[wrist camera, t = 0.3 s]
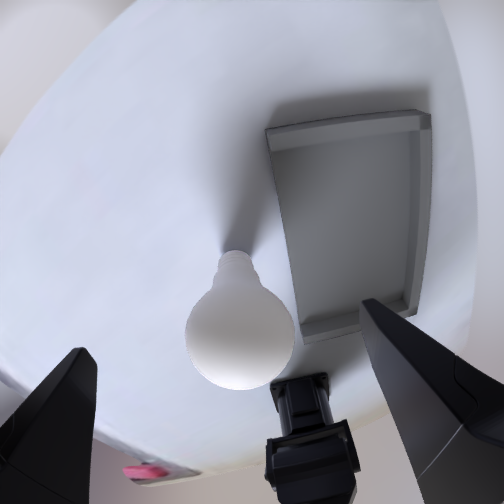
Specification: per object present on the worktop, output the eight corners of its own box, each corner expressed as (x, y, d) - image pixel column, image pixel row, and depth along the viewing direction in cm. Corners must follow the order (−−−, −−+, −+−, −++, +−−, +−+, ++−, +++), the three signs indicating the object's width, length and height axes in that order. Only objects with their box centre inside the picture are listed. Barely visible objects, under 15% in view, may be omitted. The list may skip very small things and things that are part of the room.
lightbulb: (179, 243, 23) (156, 362, 14) (255, 208, 22) (279, 321, 13) (217, 300, 26) (218, 418, 17) (286, 272, 26) (317, 389, 16)
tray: (408, 300, 29) (416, 314, 27) (300, 328, 29) (304, 344, 27) (415, 109, 19) (431, 114, 17) (264, 129, 19) (268, 135, 18)
